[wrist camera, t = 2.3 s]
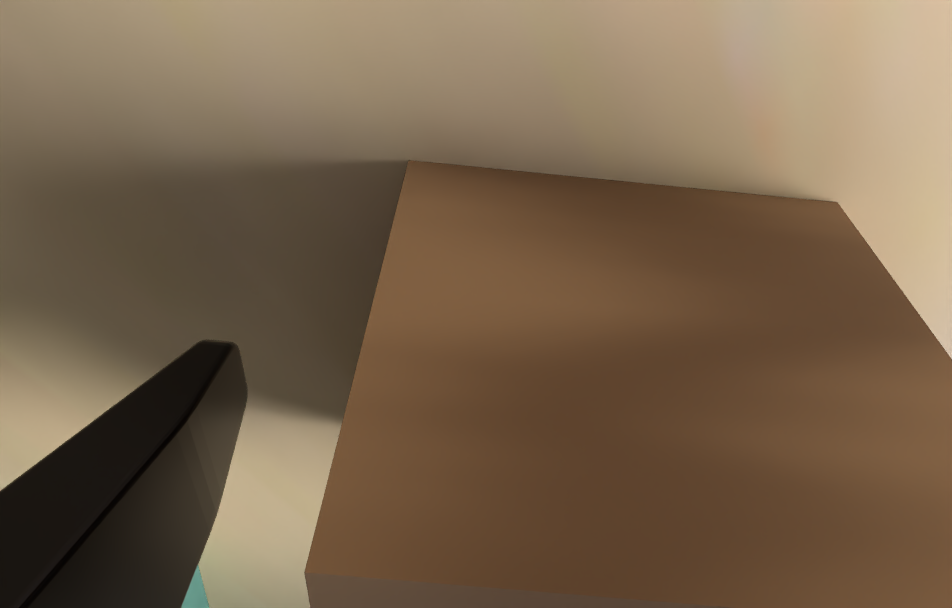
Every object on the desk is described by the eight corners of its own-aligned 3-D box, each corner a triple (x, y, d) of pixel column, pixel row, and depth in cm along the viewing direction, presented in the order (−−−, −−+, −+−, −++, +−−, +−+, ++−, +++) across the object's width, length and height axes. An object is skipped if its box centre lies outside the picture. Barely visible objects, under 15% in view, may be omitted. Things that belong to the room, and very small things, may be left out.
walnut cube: (834, 199, 8) (1158, 642, 4) (702, 457, 11) (805, 838, 7) (409, 157, 8) (303, 573, 4) (403, 431, 11) (343, 804, 7)
